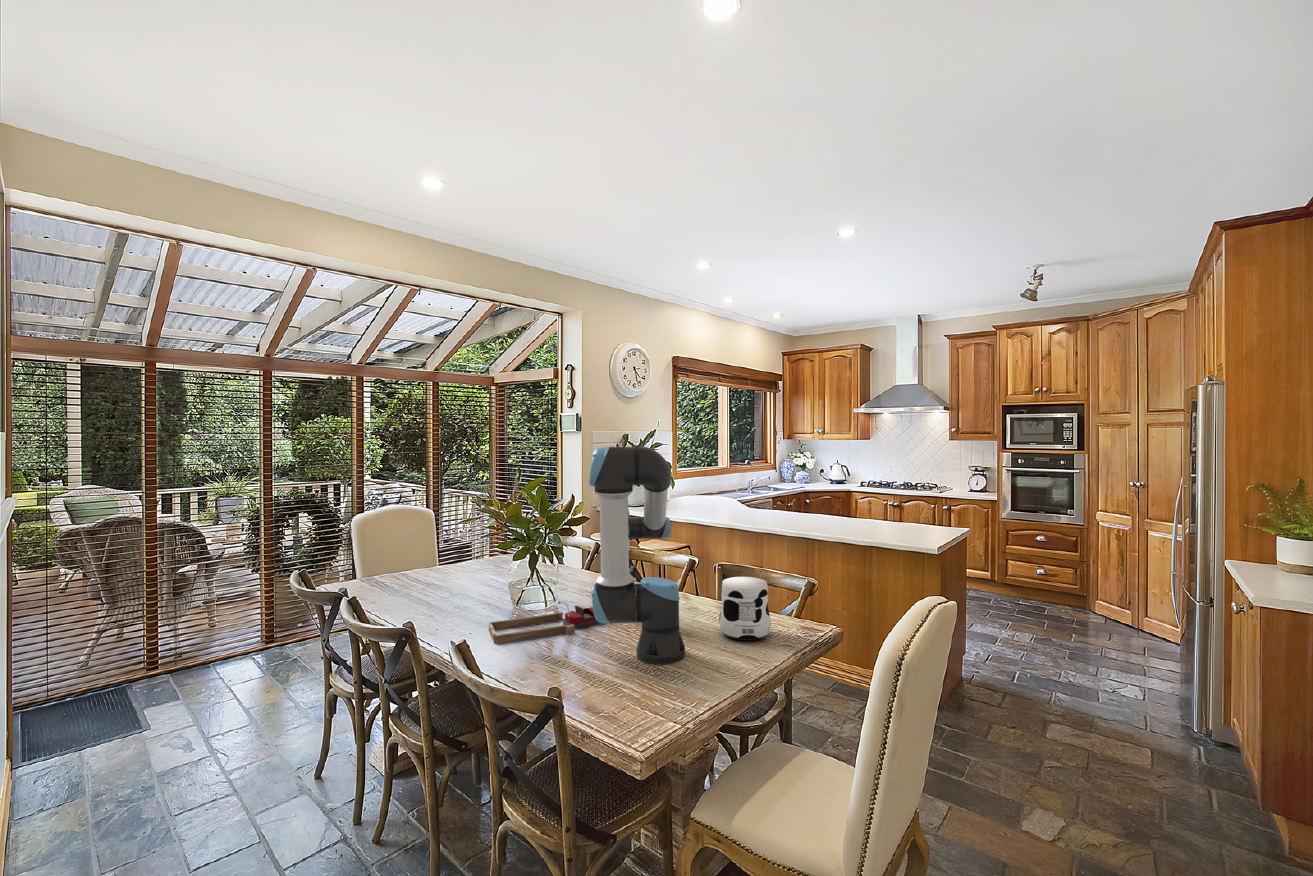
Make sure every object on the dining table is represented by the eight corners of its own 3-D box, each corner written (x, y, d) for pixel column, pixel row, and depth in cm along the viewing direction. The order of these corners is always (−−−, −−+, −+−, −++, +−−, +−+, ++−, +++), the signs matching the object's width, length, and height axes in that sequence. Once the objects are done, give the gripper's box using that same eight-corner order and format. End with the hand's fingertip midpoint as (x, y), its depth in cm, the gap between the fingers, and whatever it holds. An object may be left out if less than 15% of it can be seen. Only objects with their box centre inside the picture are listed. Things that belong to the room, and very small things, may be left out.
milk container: (745, 623, 206) (744, 573, 206) (782, 636, 192) (781, 583, 192) (708, 633, 196) (708, 581, 196) (745, 648, 182) (744, 592, 182)
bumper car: (613, 621, 212) (613, 593, 212) (566, 633, 199) (566, 604, 199) (598, 615, 219) (597, 588, 219) (552, 626, 206) (551, 598, 206)
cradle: (575, 633, 198) (575, 626, 198) (495, 646, 187) (495, 638, 187) (561, 617, 215) (561, 611, 215) (487, 628, 205) (487, 621, 205)
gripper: (632, 546, 221) (633, 608, 221) (600, 549, 215) (600, 612, 215) (639, 550, 214) (640, 613, 214) (606, 553, 208) (607, 618, 209)
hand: (620, 613), depth 215 cm, fingers closed
